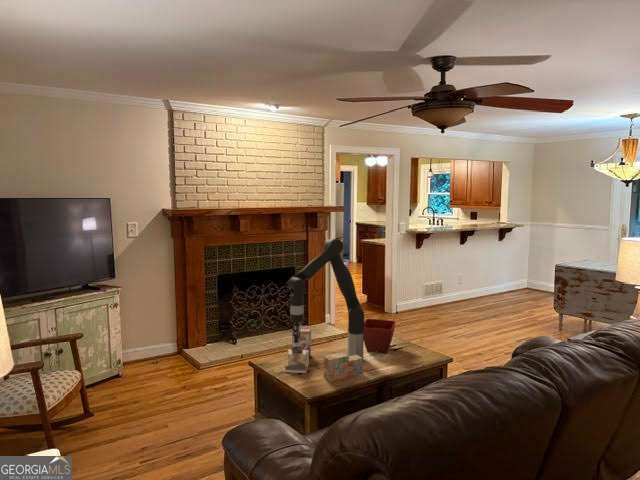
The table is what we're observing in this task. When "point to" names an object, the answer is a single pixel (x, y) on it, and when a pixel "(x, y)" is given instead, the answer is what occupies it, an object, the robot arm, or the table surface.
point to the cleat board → (298, 368)
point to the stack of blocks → (342, 366)
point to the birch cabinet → (297, 356)
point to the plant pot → (378, 335)
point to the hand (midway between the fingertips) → (297, 340)
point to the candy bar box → (304, 340)
